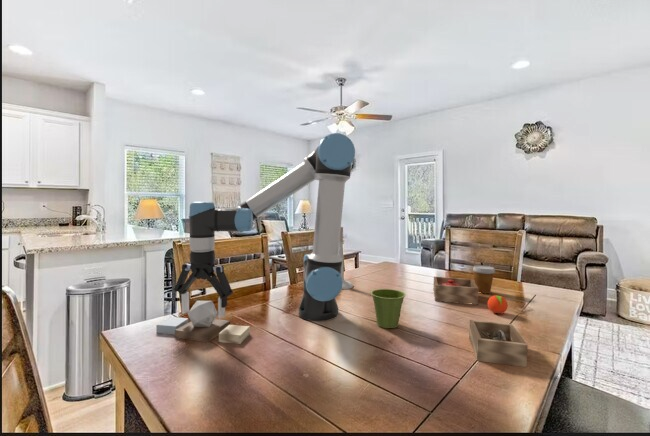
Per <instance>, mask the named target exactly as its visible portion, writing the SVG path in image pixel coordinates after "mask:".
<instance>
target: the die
mask: <svg viewBox="0 0 650 436" xmlns="http://www.w3.org/2000/svg"><path fill="white" fill-rule="evenodd" d="M186 314H187V315H188V318H189V320H190V322H192V324H193V326H194V327H210V325H211V324H212V322H213V321H214V319H217V317H218V309H217V308H216V306H215V304H214V302H213V300H196V301H195V303H194V304H193V305H192V307H191V308H189V312H187V313H186Z"/></svg>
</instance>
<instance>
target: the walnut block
mask: <svg viewBox="0 0 650 436" xmlns="http://www.w3.org/2000/svg"><path fill="white" fill-rule="evenodd" d="M228 325H231V320H227V319H219V318H215V319H214V321H213V322H212V324H211V325H210V327H194V326H193V324H192V322H191V321H189V323H187V324H185V325H183V326H182V327H180V328H178V329H176V330H175V334H174V338H177V339H178V338H179V339H184V340H190V341H191V340H192V341H197V342H203V343H209V342H211V341H213V340H214V339H215V338H217V337H219V333H220V332H221V331H222V330H223V329H225V328H226V327H227V326H228Z"/></svg>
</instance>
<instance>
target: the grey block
mask: <svg viewBox="0 0 650 436" xmlns="http://www.w3.org/2000/svg"><path fill="white" fill-rule="evenodd" d="M189 320H190V318H189V317H188V318H187V317H175V316H169V317H168V318H166V319H163V320H162V321H160V322H159V323H157V324H156V325H155V326H156V327H155V329H156V333H157V334H169V335H175V330H176V329H178V328H180V327H182V326H183V325H185V324H187V323H189V322H190V321H189Z"/></svg>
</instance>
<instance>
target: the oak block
mask: <svg viewBox="0 0 650 436" xmlns="http://www.w3.org/2000/svg"><path fill="white" fill-rule="evenodd" d="M250 335H251V327H250V325H238V324H230V325H228V326H227V327H226V328H225V329H223V330H222V331H221V332H220V333H219V335H218V342H219V343H224V344H225V343H226V344H227V343H228V344H238V345H239V344H240V345H241V344H242V343H243V342H244V341H245V340H246V339H247V338H248V337H249V336H250Z"/></svg>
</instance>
